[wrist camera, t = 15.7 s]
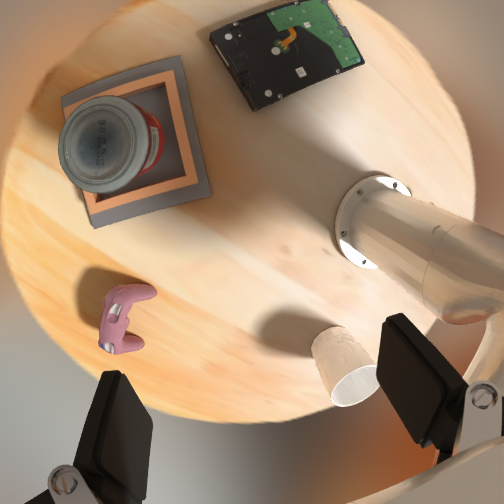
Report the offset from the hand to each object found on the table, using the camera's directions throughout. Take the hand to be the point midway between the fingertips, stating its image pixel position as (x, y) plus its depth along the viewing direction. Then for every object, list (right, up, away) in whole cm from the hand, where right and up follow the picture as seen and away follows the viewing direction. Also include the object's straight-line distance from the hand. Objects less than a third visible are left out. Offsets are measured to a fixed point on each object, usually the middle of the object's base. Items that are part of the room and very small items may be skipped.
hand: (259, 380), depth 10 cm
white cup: (+12, -10, +34) cm, 37 cm away
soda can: (-13, +16, +18) cm, 27 cm away
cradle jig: (-13, +16, +19) cm, 28 cm away
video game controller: (-16, -3, +26) cm, 31 cm away
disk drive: (+4, +27, +19) cm, 33 cm away
